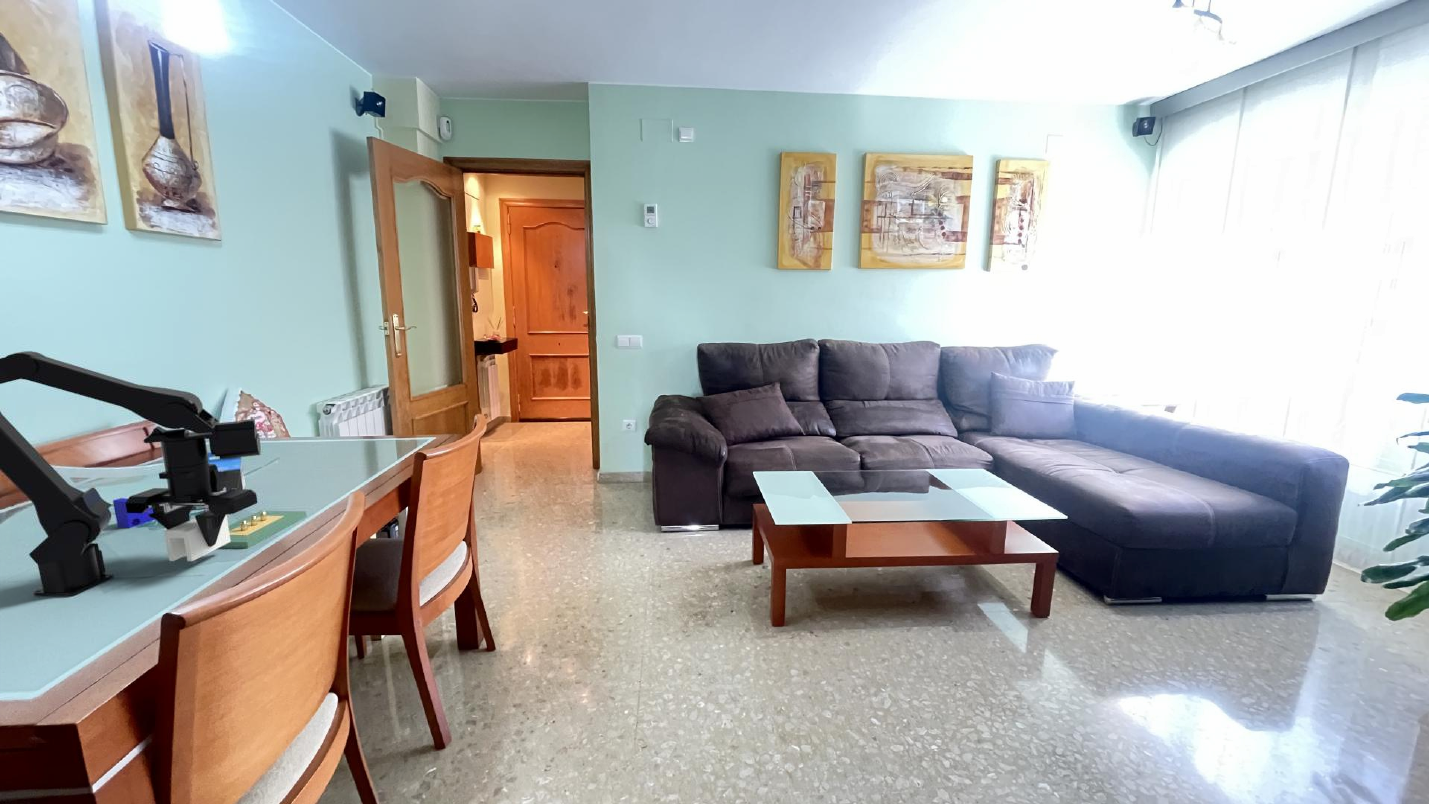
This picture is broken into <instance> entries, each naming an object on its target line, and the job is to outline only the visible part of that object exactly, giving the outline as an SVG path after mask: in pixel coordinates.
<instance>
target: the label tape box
mask: <svg viewBox="0 0 1429 804" xmlns="http://www.w3.org/2000/svg"><path fill="white" fill-rule="evenodd" d="M207 453H208V460H209V464H216V466H217V468H218V471H220V472H240V473H241V475H240V481H239V488H238V489H247V487H246V486H247V485H246V481H245V473H244V465H243V459H242V457H238V458H229V459H220V458H214V457H215V455H212V454H211V451H209V452H208V451H207ZM210 458H213V459H210ZM232 489H233V488H223V491H220V492H215V493H213V495H219V494H222V493H225V492H227V491H230V490H232ZM199 501H202V500H199ZM200 509H205V506H195V510H200Z"/></svg>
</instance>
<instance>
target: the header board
mask: <svg viewBox="0 0 1429 804" xmlns="http://www.w3.org/2000/svg"><path fill="white" fill-rule="evenodd" d="M307 515H308V514H307V511H301V510H297V511H296V510H294V511H293V510H259V511H257V512H254V513H253V514H251V515H249V516H246V517H244V518H242V519H241V520H238V521H236V522H234V523H232V524H228V527H229V534H230V541H231V542H229V543H227V544H225V545H223V546H221V547H219V548H220V549H226V548H227V549H230V548H231V549H249V548H252V546H255V545H256V544H259V543H261V542H262V541H264V540H265V539H267V538H269V537H271V536H273V535H276V534H277V533H278V532H281V531H282V530H285V529H286V528H288V527H290V526H292V525H294V524H296V523H298V522H299V521H301V520H303V519H305V518H307ZM219 548H218V549H219Z"/></svg>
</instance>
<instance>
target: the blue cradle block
mask: <svg viewBox="0 0 1429 804" xmlns="http://www.w3.org/2000/svg"><path fill="white" fill-rule="evenodd" d="M127 500H128V498H126V497H120V498H116V499H113V500H112V504H113V508H114V514H115V518H116V519H115V521H116V525H117V527H118V528H124V529H131V528H134V527H137V526H139V525H140V526H141V525H143V524H146V522H147V523H149V521H150V522H152V521H156V520H155V519H154V518H150V517H149V514H151V513H153V511H152V506H149V508H148V510H147V511H146V512H144V513H127V510H126V504H125V503H126V501H127Z"/></svg>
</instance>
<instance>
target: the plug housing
mask: <svg viewBox="0 0 1429 804" xmlns="http://www.w3.org/2000/svg"><path fill="white" fill-rule="evenodd" d="M228 526H229V521H228V514H226V516H225V518H224V520H223V522H222V525H221V528H220V532H219V535H218V538H217V541H216V544H215V545H213V546H211V547H209V546H208V545H207V543H206V541H205V539H204V537H203V535H202V532H201V530H200V528H199V525H198V523H197V521H196V518H195V517H194V518H193V519H190V521H187V522H185V523H183V524H180V525H178V526H176V527H173V528H171V529H169V530H167V529H166V530H164V531H163V535H164V538H165V544H166V551H167V556H168V560H169V562H174V561H177V560H179V559H180V558H183V557H185V556H186V560H187V562H194V561H195V560H198V559H199V558H201V557H203V556H205V555H207V554H209V553H211V552H213V551H215V550H217V549H219V547H221V546H223V545H225V544H227V543H229V542H231V541H230V534H229V527H228Z"/></svg>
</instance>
